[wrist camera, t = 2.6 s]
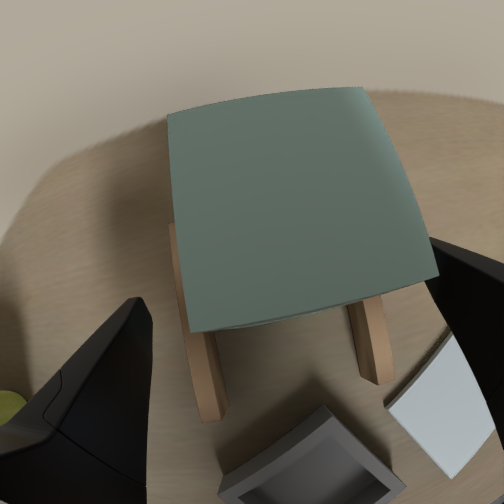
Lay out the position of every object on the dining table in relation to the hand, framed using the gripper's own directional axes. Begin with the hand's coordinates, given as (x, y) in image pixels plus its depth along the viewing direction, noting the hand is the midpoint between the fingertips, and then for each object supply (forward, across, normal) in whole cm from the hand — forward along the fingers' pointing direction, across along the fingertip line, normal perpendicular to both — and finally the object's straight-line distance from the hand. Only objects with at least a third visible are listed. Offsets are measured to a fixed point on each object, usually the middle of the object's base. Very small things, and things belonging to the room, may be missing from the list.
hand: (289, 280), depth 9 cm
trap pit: (-3, 0, +15) cm, 15 cm away
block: (+7, 0, +6) cm, 9 cm away
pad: (-1, -12, +13) cm, 18 cm away
